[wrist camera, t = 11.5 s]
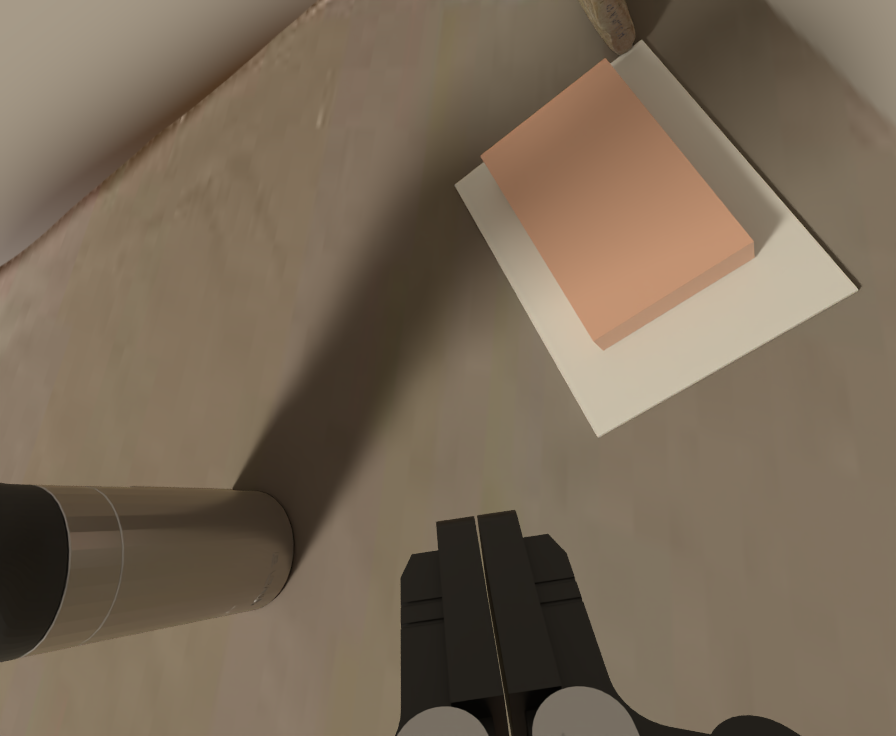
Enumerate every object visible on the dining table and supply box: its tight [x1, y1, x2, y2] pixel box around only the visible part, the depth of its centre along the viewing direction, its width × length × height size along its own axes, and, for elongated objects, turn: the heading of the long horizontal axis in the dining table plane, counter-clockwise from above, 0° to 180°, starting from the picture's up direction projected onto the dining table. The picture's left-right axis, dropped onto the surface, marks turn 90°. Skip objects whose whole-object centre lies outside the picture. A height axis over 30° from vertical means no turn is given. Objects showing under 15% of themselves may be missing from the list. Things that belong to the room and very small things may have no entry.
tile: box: [481, 58, 755, 351], centre depth 38 cm, size 3×10×16 cm
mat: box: [455, 39, 858, 438], centre depth 39 cm, size 22×16×1 cm
